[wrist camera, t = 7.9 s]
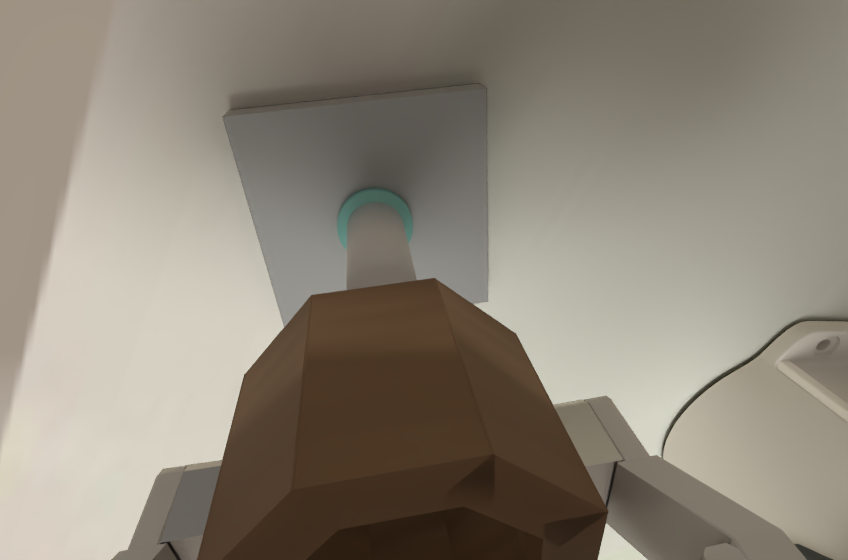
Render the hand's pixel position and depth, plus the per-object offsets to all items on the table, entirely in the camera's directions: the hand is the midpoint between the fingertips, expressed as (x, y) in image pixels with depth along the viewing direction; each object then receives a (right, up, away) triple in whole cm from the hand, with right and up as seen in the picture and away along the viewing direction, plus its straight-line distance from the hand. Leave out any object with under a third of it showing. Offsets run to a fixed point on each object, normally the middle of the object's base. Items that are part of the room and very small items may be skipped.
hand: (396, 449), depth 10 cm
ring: (0, +1, +1) cm, 2 cm away
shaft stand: (-2, +7, +11) cm, 13 cm away
